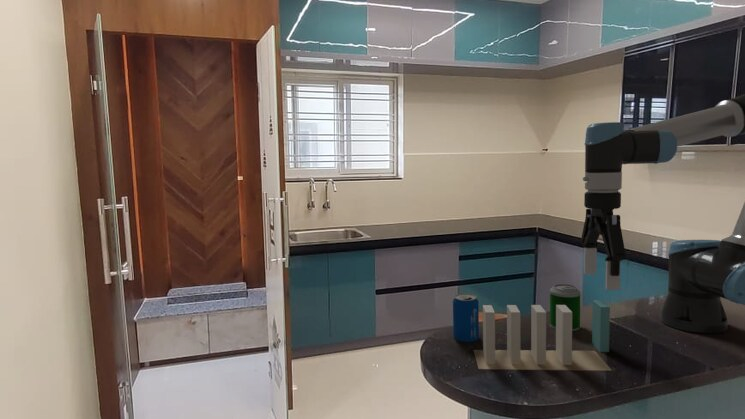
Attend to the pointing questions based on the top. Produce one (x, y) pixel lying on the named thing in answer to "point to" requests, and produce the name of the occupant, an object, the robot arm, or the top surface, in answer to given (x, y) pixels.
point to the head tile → (600, 325)
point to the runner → (579, 361)
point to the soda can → (565, 303)
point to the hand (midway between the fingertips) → (600, 281)
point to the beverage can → (465, 318)
